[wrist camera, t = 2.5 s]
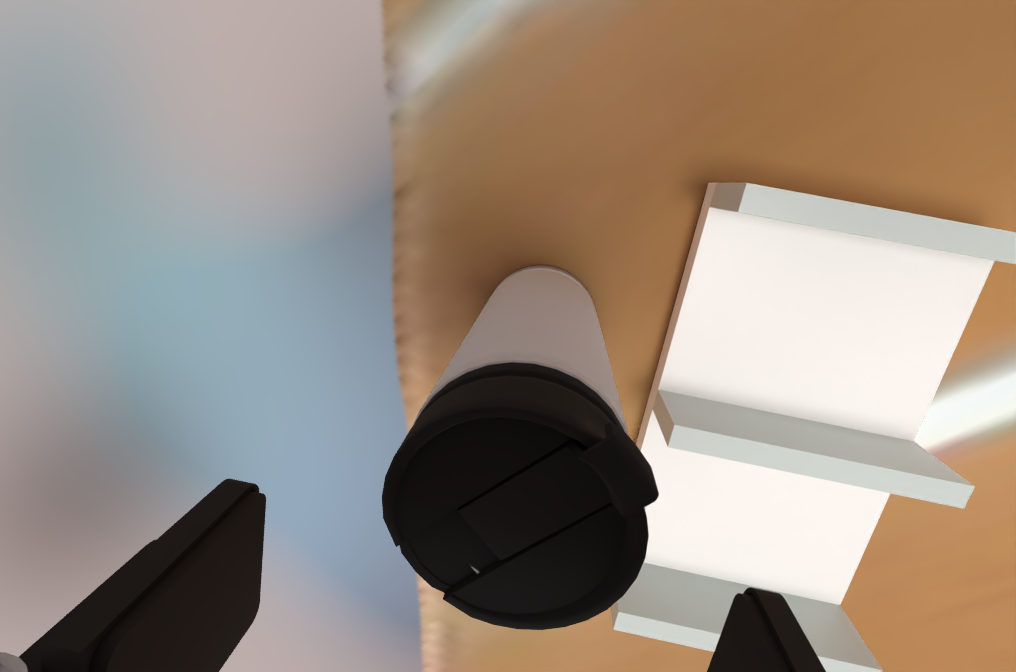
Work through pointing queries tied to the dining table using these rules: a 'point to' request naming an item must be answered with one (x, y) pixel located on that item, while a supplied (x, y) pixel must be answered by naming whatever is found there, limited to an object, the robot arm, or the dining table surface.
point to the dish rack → (796, 405)
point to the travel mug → (524, 466)
